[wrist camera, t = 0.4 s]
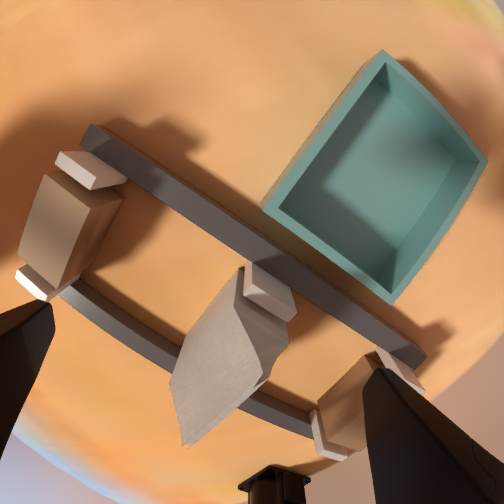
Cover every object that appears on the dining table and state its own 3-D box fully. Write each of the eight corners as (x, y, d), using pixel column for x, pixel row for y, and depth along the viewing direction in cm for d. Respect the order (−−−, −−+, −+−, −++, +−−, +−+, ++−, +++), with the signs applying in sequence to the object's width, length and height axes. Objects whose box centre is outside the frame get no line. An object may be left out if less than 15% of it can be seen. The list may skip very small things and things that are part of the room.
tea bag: (186, 334, 22) (152, 431, 13) (238, 267, 21) (227, 352, 11) (226, 358, 23) (213, 460, 13) (280, 297, 22) (299, 392, 12)
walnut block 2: (347, 413, 25) (359, 451, 20) (317, 399, 24) (326, 440, 20) (391, 371, 24) (412, 407, 19) (363, 354, 23) (383, 392, 18)
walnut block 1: (91, 264, 21) (57, 289, 16) (55, 236, 20) (16, 254, 16) (125, 197, 20) (90, 208, 15) (84, 169, 19) (44, 173, 14)
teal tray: (372, 285, 21) (391, 306, 18) (260, 202, 20) (261, 210, 16) (459, 159, 18) (488, 161, 15) (363, 64, 17) (382, 48, 13)
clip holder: (327, 434, 26) (336, 472, 21) (39, 265, 21) (3, 286, 16) (420, 347, 23) (446, 380, 18) (100, 125, 18) (62, 118, 13)
